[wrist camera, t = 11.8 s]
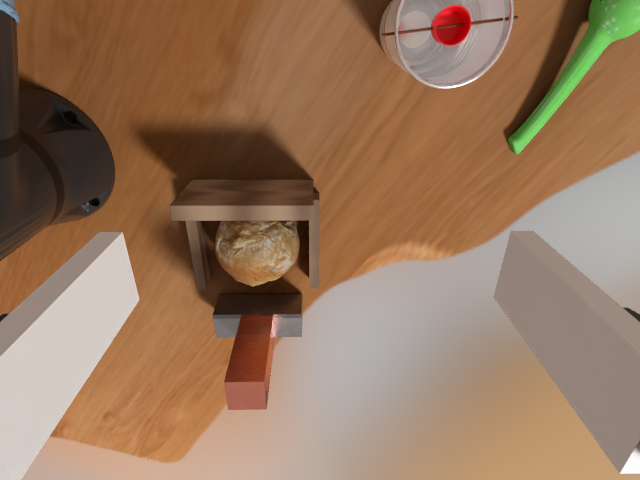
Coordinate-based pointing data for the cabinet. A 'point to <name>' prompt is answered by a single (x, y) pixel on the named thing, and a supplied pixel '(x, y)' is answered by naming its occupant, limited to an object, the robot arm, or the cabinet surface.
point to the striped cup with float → (446, 38)
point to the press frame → (245, 213)
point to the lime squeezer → (582, 60)
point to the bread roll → (256, 249)
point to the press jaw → (254, 341)
